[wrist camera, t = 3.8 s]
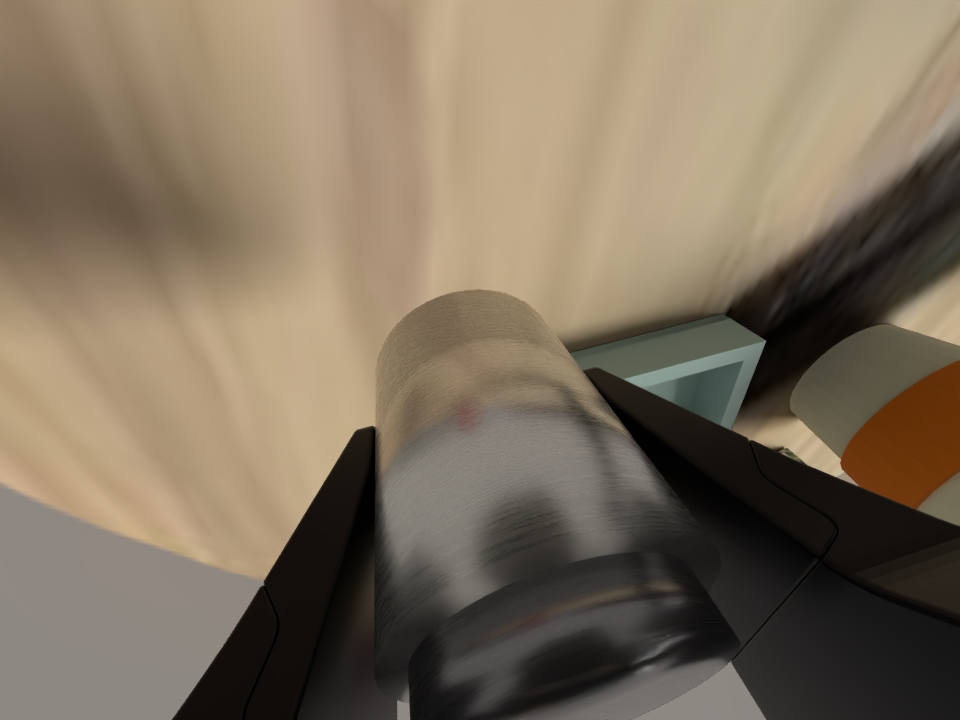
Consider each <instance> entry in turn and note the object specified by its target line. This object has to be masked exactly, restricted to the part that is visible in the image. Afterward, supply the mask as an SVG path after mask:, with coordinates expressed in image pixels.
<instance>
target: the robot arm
mask: <svg viewBox="0 0 960 720" xmlns="http://www.w3.org/2000/svg"><path fill="white" fill-rule="evenodd" d="M582 371H583V372H584V373H585V374H586V376H587V377H588V378H589V380H590V381H591V382H592V384H593V385H594V386H595V388H596V389H597V390H598V392H599V393H600V394H601V396H602V397H603V398H604V400H605V401H606V402H607V404H608V405H609V406H610V407H611V409H612V410H613V411H614V413H615V414H616V415H617V417H618V418H619V419H620V421H621V422H622V423H623V425H624V426H625V427H626V429H627V430H628V431H629V433H630V434H631V435H632V437H633V438H634V439H635V441H636V442H637V443H638V444H639V446H640V447H641V448H642V450H643V451H644V452H645V454H646V455H647V456H648V458H649V459H650V460H651V462H652V463H653V464H654V466H655V467H656V468H657V470H658V471H659V472H660V474H661V475H662V476H663V478H664V479H665V480H666V481H667V483H668V484H669V485H670V487H671V488H672V489H673V491H674V492H675V493H676V495H677V496H678V497H679V499H680V500H681V501H682V503H683V504H684V505H685V507H686V508H687V509H688V511H689V512H690V513H691V514H692V516H693V517H694V518H695V520H696V521H697V522H698V524H699V525H700V526H701V528H702V529H703V530H704V532H705V533H706V534H707V536H708V537H709V538H710V540H711V541H712V542H713V544H714V545H715V546H716V548H717V549H718V551H719V553H720V555H721V561H722V564H721V569H720V573H719V575H718V578H717V580H716V582H715V583H714V585H713V586H712V588H711V589H710V591H709V592H708V594H709V595H710V597H711V598H712V600H713V601H714V603H715V604H716V606H717V607H718V609H719V610H720V612H721V613H722V615H723V616H724V618H725V619H726V621H727V622H728V624H729V625H730V626H731V628H732V629H733V631H734V632H735V634H736V635H737V637H738V638H739V640H740V643H741V647H740V649H739V652H738V653H737V654H736V656H735V657H734V658H733V659H732V661H731V663H732V664H733V666H734V668H735V670H736V671H737V673H738V675H739V676H740V678H741V679H742V681H743V682H744V684H745V686H746V687H747V689H748V691H749V692H750V694H751V696H752V697H753V699H754V700H755V702H756V704H757V705H758V707H759V708H760V710H761V712H762V713H763V715H764V717H765V718H766V719H767V720H960V526H959V525H956V524H953V523H950V522H947V521H945V520H942V519H939V518H937V517H934V516H932V515H929V514H927V513H924V512H922V511H919V510H917V509H914V508H912V507H909V506H907V505H904V504H902V503H899V502H897V501H894V500H892V499H889V498H887V497H884V496H882V495H879V494H876V493H874V492H871V491H869V490H866V489H864V488H861V487H859V486H856V485H854V484H851V483H849V482H846V481H844V480H841V479H839V478H837V477H834V476H832V475H829V474H827V473H825V472H822V471H820V470H817V469H815V468H813V467H810V466H808V465H805V464H803V463H801V462H799V461H796V460H794V459H792V458H790V457H788V456H785V455H783V454H781V453H779V452H777V451H774V450H772V449H770V448H768V447H766V446H764V445H762V444H759V443H757V442H755V441H753V440H750V441H749V440H748V438H747V437H744V436H742V435H740V434H738V433H736V432H734V431H732V430H730V429H727V428H725V427H723V426H721V425H719V424H717V423H715V422H713V421H711V420H708V419H706V418H704V417H702V416H700V415H698V414H696V413H694V412H692V411H689V410H687V409H685V408H683V407H681V406H679V405H677V404H675V403H673V402H670V401H668V400H666V399H664V398H662V397H660V396H658V395H656V394H654V393H651V392H649V391H647V390H645V389H643V388H641V387H639V386H637V385H634V384H632V383H630V382H628V381H626V380H624V379H622V378H620V377H618V376H615V375H613V374H611V373H609V372H607V371H605V370H603V369H601V368H598V367H592V368H588V369H584V370H582ZM374 583H375V427H374V426H369V427H366V428H362V429H358V430H356V431H355V432H354V434H353V436H352V437H351V439H350V441H349V442H348V444H347V445H346V447H345V449H344V450H343V452H342V454H341V455H340V457H339V459H338V460H337V462H336V464H335V465H334V467H333V468H332V470H331V472H330V473H329V475H328V477H327V478H326V480H325V482H324V483H323V485H322V487H321V488H320V490H319V491H318V493H317V495H316V496H315V498H314V500H313V501H312V503H311V505H310V506H309V508H308V510H307V511H306V513H305V514H304V516H303V518H302V519H301V521H300V523H299V524H298V526H297V528H296V529H295V531H294V533H293V534H292V536H291V537H290V539H289V541H288V542H287V544H286V546H285V547H284V549H283V551H282V552H281V554H280V556H279V557H278V559H277V560H276V562H275V564H274V565H273V567H272V569H271V570H270V572H269V574H268V575H267V577H266V579H265V580H264V585H265V586H264V585H263V586H261V587H260V588H259V590H258V591H257V593H256V595H255V596H254V598H253V600H252V601H251V603H250V605H249V606H248V608H247V610H246V611H245V613H244V614H243V616H242V617H241V619H240V620H239V622H238V624H237V625H236V627H235V629H234V630H233V631H232V633H231V635H230V636H229V638H228V639H227V641H226V643H225V644H224V645H223V647H222V648H221V650H220V651H219V653H218V654H217V656H216V657H215V659H214V660H213V662H212V663H211V665H210V666H209V668H208V669H207V670H206V672H205V673H204V675H203V676H202V678H201V679H200V681H199V682H198V683H197V685H196V686H195V688H194V689H193V691H192V692H191V693H190V695H189V696H188V698H187V699H186V700H185V702H184V703H183V705H182V706H181V708H180V709H179V710H178V712H177V713H176V715H175V716H174V717H173V719H172V720H397V700H396V699H393V698H391V697H389V696H387V695H386V694H384V693H383V692H382V691H381V690H380V689H379V688H378V686H377V685H376V682H375V679H374Z"/></svg>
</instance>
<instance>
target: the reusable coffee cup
mask: <svg viewBox="0 0 960 720" xmlns="http://www.w3.org/2000/svg"><path fill="white" fill-rule="evenodd" d="M790 408H791V411H792V412H793V413H794V414H795V415H796V416H797V417H798V418H799V419H800V420H801V421H802V422H803V423H804V424H805V425H806V426H807V427H808V428H809V429H810V430H811V431H812V432H813V433H814V434H815V435H816V436H818V437H819V438H820V439H821V440H822V441H823V442H824V443H825V444H826V445H827V446H828V447H829V448H830V449H831V450H832V451H833V452H834V453H835V454H836V455H837V456H838V457H839V458H840V459H841V463H840V464H841V467H842V470H843V471H844V472H846V473H847V474H848V475H849V476H850V477H851V478H852V479H853V480H854V481H855V482H856V483H857V484H858V485H859V486H860V487H861V488H864V489H866V490H869V491H871V492H874V493H876V494H879V495H882V496H884V497H887V498H889V499H892V500H894V501H897V502H899V503H902V504H904V505H907V506H909V507H912V508H914V509H917V510H919V511H922V512H924V513H927V514H929V515H932V516H934V517H937V518H939V519H942V520H945V521H947V522H950V523H953V524H956V525H959V526H960V346H958V345H955V344H952V343H949V342H945V341H942V340H939V339H936V338H933V337H929V336H926V335H923V334H920V333H917V332H913V331H910V330H907V329H904V328H901V327H897V326H894V325H889V324H885V325H877V326H873V327H869V328H866V329H864V330H862V331H859V332H857V333H855V334H853V335H851V336H849V337H847V338H845V339H844V340H842V341H841V342H839V343H838V344H836V345H835V346H833V347H832V348H831V349H829V350H828V351H827V352H826V353H824V354H823V355H822V356H821V357H820V358H819V359H817V360H816V361H815V362H814V363H813V364H812V365H811V366H810V367H809V369H808V370H807V371H806V372H805V373H804V374H803V376H802V377H801V378H800V380H799V381H798V383H797V384H796V386H795V388H794V390H793V392H792V395H791V398H790Z"/></svg>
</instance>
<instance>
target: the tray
mask: <svg viewBox="0 0 960 720" xmlns="http://www.w3.org/2000/svg"><path fill="white" fill-rule="evenodd" d="M765 343H766V340H764V339H762V338H761V337H759V336H758V335H756V334H754V333H753V332H751V331H750V330H748V329H746V328H745V327H743V326H742V325H740V324H738V323H737V322H735V321H734V320H732V319H730V318H729V317H727V316H726V315H724V314H720V315H716V316H712V317H708V318H704V319H700V320H696V321H692V322H689V323H685V324H681V325H677V326H673V327H669V328H665V329H661V330H658V331H654V332H650V333H646V334H642V335H638V336H634V337H630V338H626V339H623V340H619V341H615V342H611V343H607V344H603V345H599V346H595V347H592V348H588V349H584V350H580V351H576V352H572V353H570V355H571V356H572V357H573V359H574V360H575V361H576V363H577V364H578V365H579V367H580V368H581V369H582V370H584V369H588V368H592V367H598V368H601V369H603V370H605V371H607V372H609V373H611V374H613V375H615V376H618V377H620V378H622V379H624V380H626V381H628V382H630V383H632V384H634V385H637V386H639V387H641V388H643V389H645V390H647V391H649V392H651V393H654V394H656V395H658V396H660V397H662V398H664V399H666V400H668V401H670V402H673V403H675V404H677V405H679V406H681V407H683V408H685V409H687V410H689V411H692V412H694V413H696V414H698V415H700V416H702V417H704V418H706V419H708V420H711V421H713V422H715V423H717V424H719V425H721V426H723V427H725V428H727V429H730V430H731V429H732V427H733V424H734V422H735V419H736V416H737V414H738V411H739V409H740V406H741V404H742V401H743V399H744V396H745V394H746V391H747V389H748V386H749V383H750V381H751V378H752V376H753V373H754V371H755V368H756V366H757V363H758V361H759V358H760V355H761V353H762V350H763V348H764V345H765Z"/></svg>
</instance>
